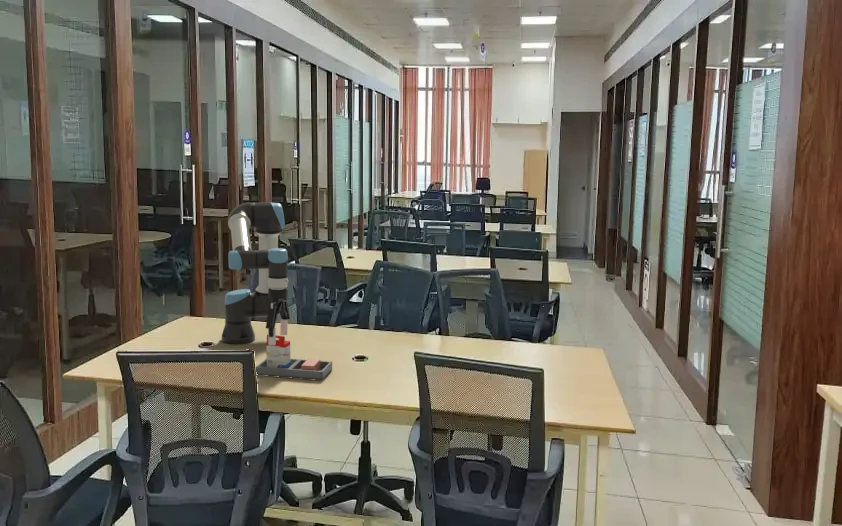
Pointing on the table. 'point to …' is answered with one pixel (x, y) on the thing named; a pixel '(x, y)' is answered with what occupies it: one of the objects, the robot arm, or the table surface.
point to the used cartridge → (311, 365)
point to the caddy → (295, 370)
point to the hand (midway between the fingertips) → (278, 339)
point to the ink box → (278, 353)
